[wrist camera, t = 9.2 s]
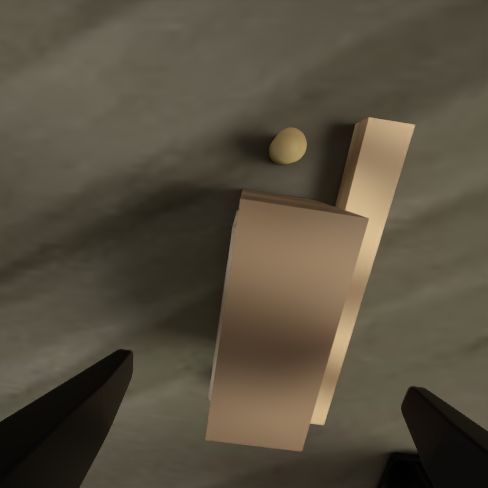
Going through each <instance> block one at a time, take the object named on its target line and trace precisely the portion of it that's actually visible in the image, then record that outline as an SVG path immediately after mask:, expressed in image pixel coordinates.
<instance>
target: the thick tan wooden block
mask: <svg viewBox="0 0 488 488" xmlns="http://www.w3.org/2000/svg"><path fill="white" fill-rule="evenodd" d="M368 221H369V218H366V217H363V216H361V215H358V214H355V213H352V212H349V211H346V210H343V209H340V208H337V207H334V206H331V205H328V204H325V203H322V202H319V201H316V200H312V199H305V198H299V197H292V196H286V195H279V194H273V193H267V192H260V191H254V190H247V189H243V190H242V194H241V198H240V204H239V211H238V210H237V212H236V215H235V219H234V223H233V227H232V234H231V241H230V248H229V255H228V262H227V269H226V276H225V284H224V291H223V298H222V305H221V312H220V319H219V326H218V333H217V340H216V347H215V354H214V361H213V368H212V375H211V383H210V390H209V397H208V400H211V403H210V410H209V417H208V424H207V431H206V438H205V440H210V441H218V442H226V443H234V444H243V445H251V446H259V447H267V448H276V449H284V450H292V451H301V452H302V450H303V446H304V443H305V439H306V436H307V432H308V429H309V425H310V422H311V418H312V415H313V411H314V408H315V404H316V401H317V397H318V394H319V391H320V387H321V384H322V380H323V377H324V373H325V370H326V366H327V363H328V359H329V356H330V352H331V349H332V345H333V342H334V339H335V335H336V332H337V328H338V325H339V321H340V318H341V314H342V311H343V307H344V304H345V300H346V297H347V293H348V290H349V286H350V283H351V280H352V276H353V273H354V269H355V266H356V262H357V259H358V255H359V252H360V248H361V245H362V241H363V238H364V234H365V231H366V227H367V224H368Z"/></svg>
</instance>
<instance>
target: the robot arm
mask: <svg viewBox="0 0 488 488" xmlns="http://www.w3.org/2000/svg"><path fill="white" fill-rule="evenodd" d="M132 373H133V352H132V351H131V350H124V349H119V350H117V351H115V352H113V353H112V354H110V355H109V356H107V357H105V358H104V359H102V360H100V361H99V362H97V363H95V364H94V365H92V366H91V367H89V368H87V369H86V370H84V371H82V372H81V373H79V374H78V375H76V376H74V377H73V378H71V379H69V380H68V381H66V382H64V383H63V384H61V385H60V386H58V387H56V388H55V389H53V390H51V391H50V392H48V393H46V394H45V395H43V396H42V397H40V398H38V399H37V400H35V401H33V402H32V403H30V404H29V405H27V406H25V407H24V408H22V409H20V410H19V411H17V412H15V413H14V414H12V415H11V416H9V417H7V418H6V419H4V420H2V421H1V422H0V488H79V487H80V485H81V483H82V482H83V480H84V478H85V476H86V474H87V472H88V470H89V468H90V467H91V465H92V463H93V461H94V459H95V457H96V455H97V454H98V452H99V450H100V448H101V446H102V444H103V442H104V440H105V438H106V436H107V434H108V432H109V430H110V428H111V425H112V423H113V421H114V418H115V416H116V414H117V411H118V409H119V407H120V404H121V402H122V399H123V397H124V395H125V392H126V390H127V388H128V385H129V383H130V380H131V377H132ZM401 410H402V414H403V417H404V419H405V422H406V424H407V426H408V429H409V431H410V434H411V436H412V439H413V441H414V444H415V446H416V448H417V451H418V453H419V456H420V457H417V456H408V455H400V454H395V455H393V456H391V458H390V460H389V462H388V465H387V467H386V470H385V472H384V474H383V477H382V479H381V482H380V484H379V486H378V488H488V431H487V430H485V429H484V428H482V427H481V426H479V425H478V424H476V423H475V422H473V421H472V420H471V419H469V418H468V417H466V416H465V415H463V414H462V413H460V412H459V411H457V410H456V409H454V408H453V407H452V406H450V405H449V404H447V403H446V402H444V401H443V400H441V399H440V398H438V397H437V396H436V395H434V394H433V393H431V392H430V391H428V390H427V389H425V388H423V387H416V386H411V387H409V388H408V390H407V392H406V395H405V397H404V400H403V402H402V405H401Z"/></svg>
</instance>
